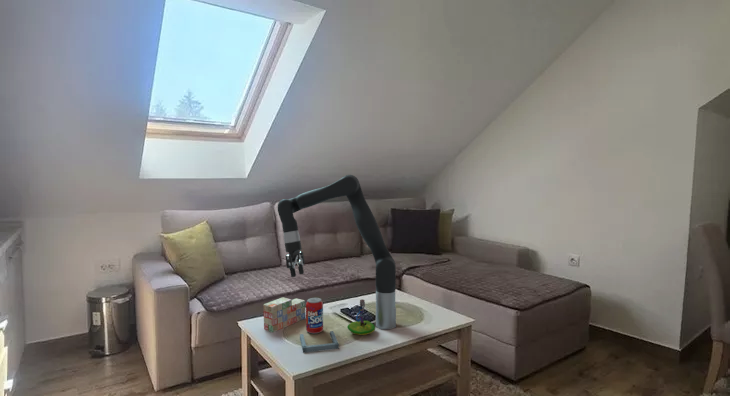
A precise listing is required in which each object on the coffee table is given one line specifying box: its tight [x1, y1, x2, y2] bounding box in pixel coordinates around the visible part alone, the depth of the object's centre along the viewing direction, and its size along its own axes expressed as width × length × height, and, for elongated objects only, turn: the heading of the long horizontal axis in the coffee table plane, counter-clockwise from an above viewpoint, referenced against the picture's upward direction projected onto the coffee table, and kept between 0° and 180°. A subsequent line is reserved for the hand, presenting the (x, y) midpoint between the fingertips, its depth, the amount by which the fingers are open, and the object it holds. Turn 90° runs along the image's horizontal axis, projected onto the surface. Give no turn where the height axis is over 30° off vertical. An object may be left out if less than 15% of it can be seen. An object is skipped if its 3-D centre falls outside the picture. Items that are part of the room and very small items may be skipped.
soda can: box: [305, 297, 324, 335], centre depth 202 cm, size 8×8×15 cm
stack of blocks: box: [262, 296, 306, 333], centre depth 211 cm, size 21×6×12 cm, turn 143°
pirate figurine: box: [346, 299, 376, 336], centre depth 199 cm, size 14×13×15 cm
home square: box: [299, 330, 340, 353], centre depth 189 cm, size 15×14×2 cm
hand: (297, 275), depth 205 cm, fingers open, 8 cm apart
